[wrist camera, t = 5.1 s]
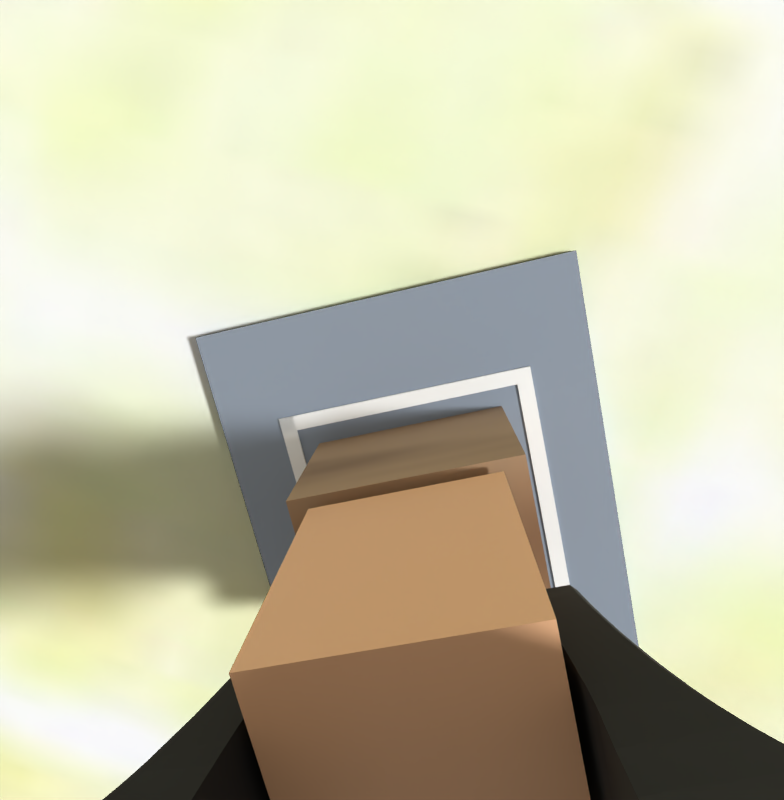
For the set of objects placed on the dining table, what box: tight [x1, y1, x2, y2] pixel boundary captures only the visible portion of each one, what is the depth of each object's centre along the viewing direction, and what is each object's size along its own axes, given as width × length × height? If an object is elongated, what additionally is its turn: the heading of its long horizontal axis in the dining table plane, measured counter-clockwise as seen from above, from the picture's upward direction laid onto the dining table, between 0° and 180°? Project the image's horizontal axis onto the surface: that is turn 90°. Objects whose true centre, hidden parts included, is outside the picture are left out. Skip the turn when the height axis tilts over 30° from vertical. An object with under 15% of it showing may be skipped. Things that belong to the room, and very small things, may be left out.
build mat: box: [196, 251, 639, 647], centre depth 17 cm, size 12×10×1 cm
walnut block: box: [286, 406, 551, 589], centre depth 15 cm, size 5×5×4 cm
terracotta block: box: [229, 471, 591, 800], centre depth 10 cm, size 4×4×5 cm
